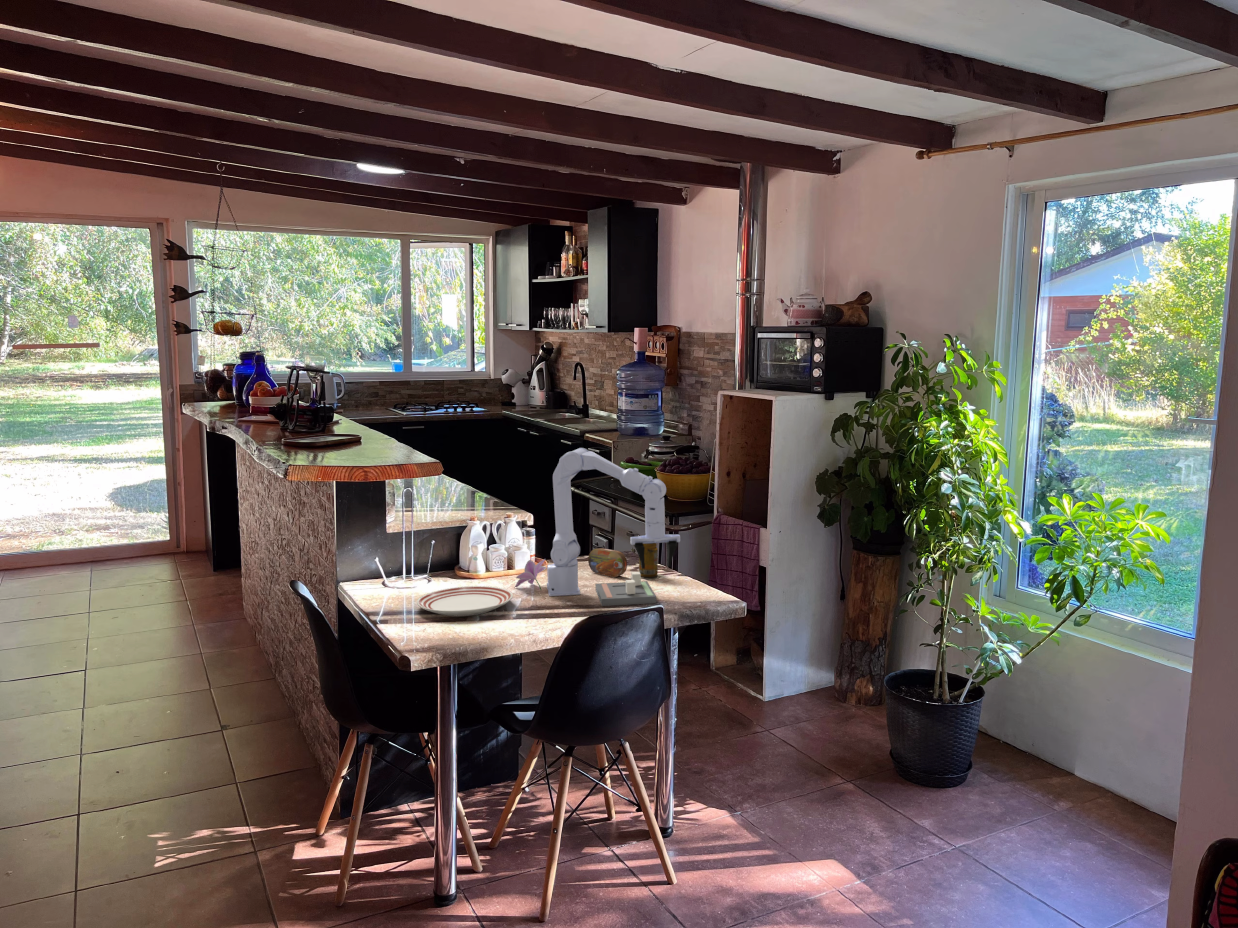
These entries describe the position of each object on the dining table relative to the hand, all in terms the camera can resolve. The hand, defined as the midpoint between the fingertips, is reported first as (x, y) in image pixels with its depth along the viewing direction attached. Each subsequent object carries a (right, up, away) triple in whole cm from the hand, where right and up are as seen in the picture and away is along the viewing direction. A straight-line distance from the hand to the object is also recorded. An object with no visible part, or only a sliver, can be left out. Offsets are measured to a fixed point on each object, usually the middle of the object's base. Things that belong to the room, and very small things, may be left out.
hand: (655, 567), depth 271 cm
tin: (-14, -6, +30) cm, 34 cm away
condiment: (-1, -6, +27) cm, 28 cm away
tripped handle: (-7, -8, 0) cm, 11 cm away
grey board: (-9, -9, +5) cm, 14 cm away
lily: (-38, -8, +15) cm, 42 cm away
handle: (-6, -6, +9) cm, 12 cm away
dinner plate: (-55, -12, -4) cm, 57 cm away
